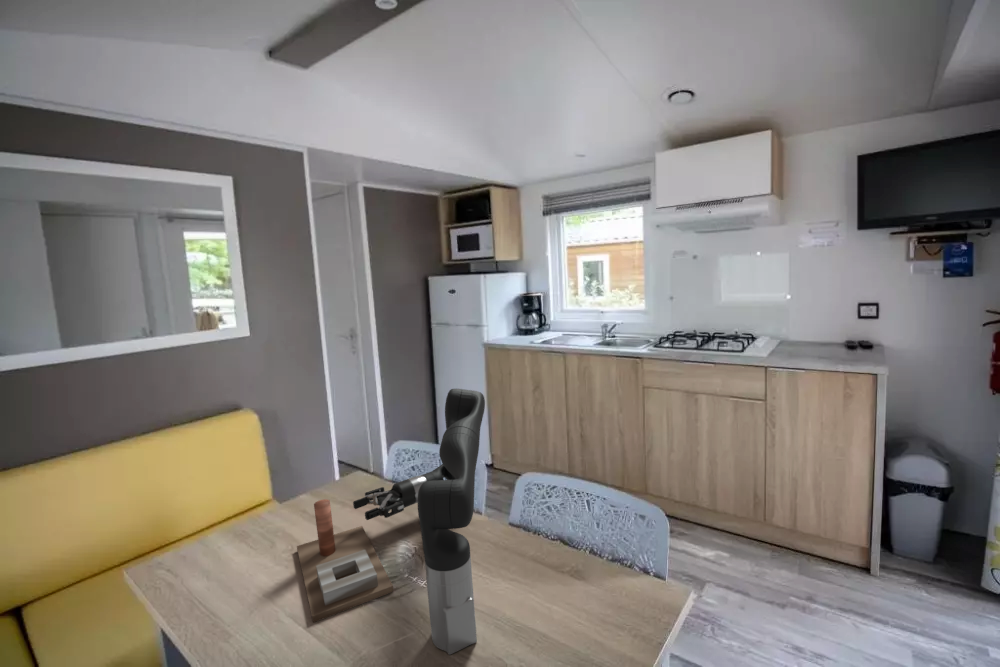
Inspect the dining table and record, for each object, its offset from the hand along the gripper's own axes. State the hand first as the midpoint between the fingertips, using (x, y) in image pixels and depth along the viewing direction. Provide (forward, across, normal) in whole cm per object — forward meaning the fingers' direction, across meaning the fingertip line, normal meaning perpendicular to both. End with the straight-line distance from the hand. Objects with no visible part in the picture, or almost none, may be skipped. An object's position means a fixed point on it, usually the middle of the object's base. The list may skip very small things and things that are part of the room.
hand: (359, 510), depth 132 cm
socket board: (+9, +8, +10) cm, 16 cm away
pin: (+10, 0, +8) cm, 13 cm away
